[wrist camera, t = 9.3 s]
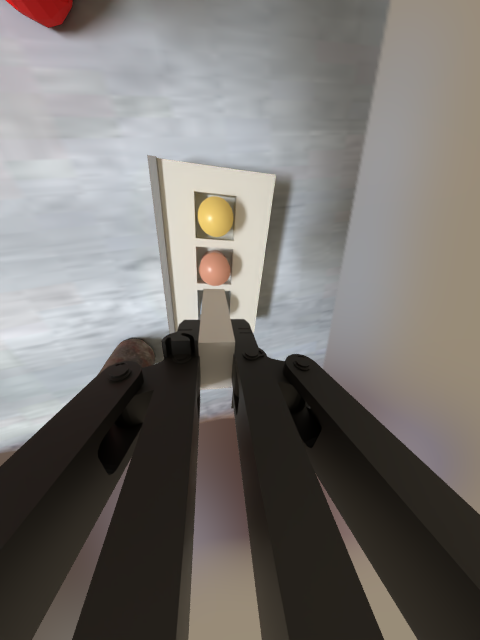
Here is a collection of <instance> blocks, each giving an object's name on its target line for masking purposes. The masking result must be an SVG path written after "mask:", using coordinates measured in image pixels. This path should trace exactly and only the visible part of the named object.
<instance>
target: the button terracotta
mask: <svg viewBox="0 0 480 640" xmlns="http://www.w3.org/2000/svg"><path fill="white" fill-rule="evenodd" d="M199 273H200V276H201V278H202V280H203V281H204V282H205V283H207V284H209V285H212V286H219V285H222V284H224V283H225V282H226V281H227V280H228V278H229V276H230V265H229V263H228V261H227V258H226V256H225V255H224V254H223V253H222V252H220V251H217V250H211V251H208V252H206V253H205V254H204V255H203V257H202V259H201V263H200V267H199Z"/></svg>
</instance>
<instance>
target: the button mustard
mask: <svg viewBox="0 0 480 640" xmlns="http://www.w3.org/2000/svg"><path fill="white" fill-rule="evenodd" d="M198 221H199V224H200V226H201V228H202V229H203V231H204V232H205V233H207V234H208V235H210V236H213V237H221V236H223V235H225V234H227V233H228V232H229V230H230V229H231V227H232V224H233V212H232V209H231V207H230V205H229V204H228V202H227V201H225V200H224V199H223V198H221V197H217V196H212V197H208V198H206V199H205V200H204V201H203V202H202V203H201V205H200V207H199V210H198Z"/></svg>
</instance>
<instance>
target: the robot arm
mask: <svg viewBox="0 0 480 640" xmlns="http://www.w3.org/2000/svg"><path fill="white" fill-rule="evenodd" d="M162 348H163V354H164V360H163V361H162V362H160V363H158V364H155V365H152V366H148V367H144V368H141V366H140V365H139V364H138V363H137V362H133V361H123V362H118V363H115V364H113V365H111V366H108V367H107V368H106V369H104V370H103V371H102V372H101V373H100V374H98V375H97V376H96V377H95V378H94V379H93V380H92V381H91V382H90V383H89V384H88V385H87V386H86V387H85V388H84V389H82V390H81V391H80V392H79V393H78V394H77V395H76V396H75V397H74V398H73V399H72V400H71V401H70V402H69V403H68V404H66V405H65V406H64V407H63V408H62V409H61V410H60V411H59V412H58V413H57V414H56V415H55V416H54V417H53V418H52V419H50V420H49V421H48V422H47V423H46V424H45V425H44V426H43V427H42V428H41V429H40V430H39V431H38V432H37V433H36V434H34V435H33V436H32V437H31V438H30V439H29V440H28V441H27V442H26V443H25V444H24V445H23V446H22V447H21V448H20V449H18V450H17V451H16V452H15V453H14V454H13V455H12V456H11V457H10V458H9V459H8V460H7V461H6V462H5V463H4V464H3V465H1V466H0V640H32V638H33V637H34V635H35V633H36V631H37V629H38V627H39V625H40V623H41V622H42V620H43V618H44V616H45V615H46V613H47V611H48V609H49V607H50V605H51V604H52V602H53V600H54V598H55V596H56V594H57V593H58V591H59V589H60V587H61V585H62V583H63V582H64V580H65V578H66V576H67V574H68V572H69V571H70V569H71V567H72V565H73V563H74V561H75V560H76V558H77V556H78V554H79V552H80V550H81V549H82V547H83V545H84V543H85V541H86V539H87V538H88V536H89V534H90V532H91V530H92V528H93V527H94V525H95V523H96V521H97V519H98V517H99V516H100V514H101V512H102V510H103V508H104V507H105V505H106V503H107V501H108V499H109V497H110V495H111V494H112V492H113V490H114V488H115V486H116V484H117V482H118V481H119V479H120V477H121V475H122V474H123V472H124V470H125V468H126V466H127V464H128V463H129V461H130V459H131V461H130V464H129V467H128V470H127V473H126V477H125V480H124V483H123V486H122V489H121V492H120V495H119V498H118V501H117V504H116V507H115V510H114V514H113V516H112V519H111V522H110V525H109V528H108V532H107V535H106V538H105V541H104V544H103V547H102V550H101V553H100V556H99V559H98V562H97V565H96V568H95V571H94V574H93V577H92V580H91V584H90V587H89V590H88V593H87V596H86V599H85V602H84V605H83V608H82V611H81V614H80V617H79V620H78V623H77V626H76V630H75V633H74V636H73V639H72V640H188V633H189V613H190V594H191V574H192V554H193V534H194V515H195V494H196V475H197V456H198V435H199V417H200V390H203V389H219V388H232V386H233V396H232V408H234V415H235V422H236V431H237V440H238V448H239V455H240V464H241V472H242V480H243V489H244V496H245V505H246V513H247V521H248V529H249V537H250V546H251V554H252V562H253V570H254V579H255V587H256V595H257V603H258V611H259V619H260V627H261V636H262V640H384V638H383V636H382V633H381V631H380V629H379V626H378V624H377V621H376V619H375V616H374V614H373V612H372V609H371V607H370V604H369V602H368V600H367V597H366V595H365V592H364V590H363V588H362V585H361V583H360V580H359V578H358V575H357V573H356V571H355V568H354V566H353V563H352V561H351V558H350V556H349V554H348V551H347V549H346V546H345V544H344V541H343V539H342V537H341V534H340V532H339V529H338V527H337V525H336V522H335V520H334V517H333V515H332V512H331V510H330V508H329V505H328V503H327V500H326V498H325V495H324V493H323V491H322V488H321V486H320V483H319V481H318V479H317V476H318V478H319V480H320V481H321V483H322V485H323V486H324V488H325V489H326V491H327V493H328V494H329V496H330V498H331V499H332V501H333V503H334V504H335V506H336V507H337V509H338V510H339V512H340V514H341V516H342V517H343V519H344V520H345V522H346V524H347V525H348V527H349V529H350V530H351V532H352V533H353V535H354V537H355V538H356V540H357V542H358V543H359V545H360V546H361V548H362V550H363V551H364V553H365V554H366V556H367V558H368V560H369V561H370V563H371V564H372V566H373V568H374V569H375V571H376V572H377V574H378V576H379V577H380V579H381V581H382V582H383V584H384V585H385V587H386V588H387V590H388V592H389V594H390V595H391V597H392V599H393V600H394V602H395V603H396V605H397V607H398V608H399V610H400V611H401V613H402V615H403V616H404V618H405V619H406V621H407V623H408V625H409V626H410V628H411V629H412V631H413V633H414V634H415V636H416V637H417V639H418V640H480V515H479V514H478V513H477V512H476V511H475V510H474V509H473V508H472V507H471V506H470V505H469V504H467V502H465V501H464V500H463V499H462V498H461V497H460V496H459V495H458V494H457V493H456V492H455V491H454V490H452V489H451V488H450V487H449V486H448V485H447V484H446V483H445V482H444V481H443V480H442V479H441V478H439V477H438V476H437V475H436V474H435V473H434V472H433V471H432V470H431V469H430V468H429V467H428V466H427V465H426V464H424V463H423V462H422V461H421V460H420V459H419V458H418V457H417V456H416V455H415V454H414V453H413V452H412V451H410V450H409V449H408V448H407V447H406V446H405V445H404V444H403V443H402V442H401V441H400V440H398V439H397V438H396V437H395V436H394V435H393V434H392V433H391V432H390V431H389V430H388V429H387V428H385V426H384V425H382V424H381V423H380V422H379V421H378V420H377V419H376V418H375V417H374V416H373V415H372V414H371V413H370V412H368V411H367V410H366V409H365V408H364V407H363V406H362V405H361V404H360V403H359V402H358V401H356V399H354V398H353V397H352V396H351V395H350V394H349V393H348V392H347V391H346V390H345V389H344V388H342V386H340V385H339V384H338V383H337V382H336V381H335V380H334V379H333V378H332V377H331V376H330V375H329V374H327V373H326V372H325V371H324V370H323V369H322V368H321V367H320V366H319V365H318V364H317V363H316V362H315V361H313V360H312V359H310V358H309V357H306V356H304V355H300V354H292V355H290V356H288V357H287V358H286V360H285V361H280V360H275V359H271V358H269V357H267V355H266V353H265V352H264V351H263V350H262V349H260V348H258V345H257V343H256V340H255V338H254V335H253V332H252V330H251V327H250V324H249V323H248V322H247V321H246V320H245V319H230V314H229V309H228V305H227V300H226V295H225V290H224V289H203V299H202V309H201V319H200V320H183V321H182V322H181V323H180V324H179V327H178V331H177V332H174V333H171V334H169V335H167V336H166V337H164V338H163V340H162ZM131 457H132V458H131ZM315 473H316V474H315ZM316 475H317V476H316Z"/></svg>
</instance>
